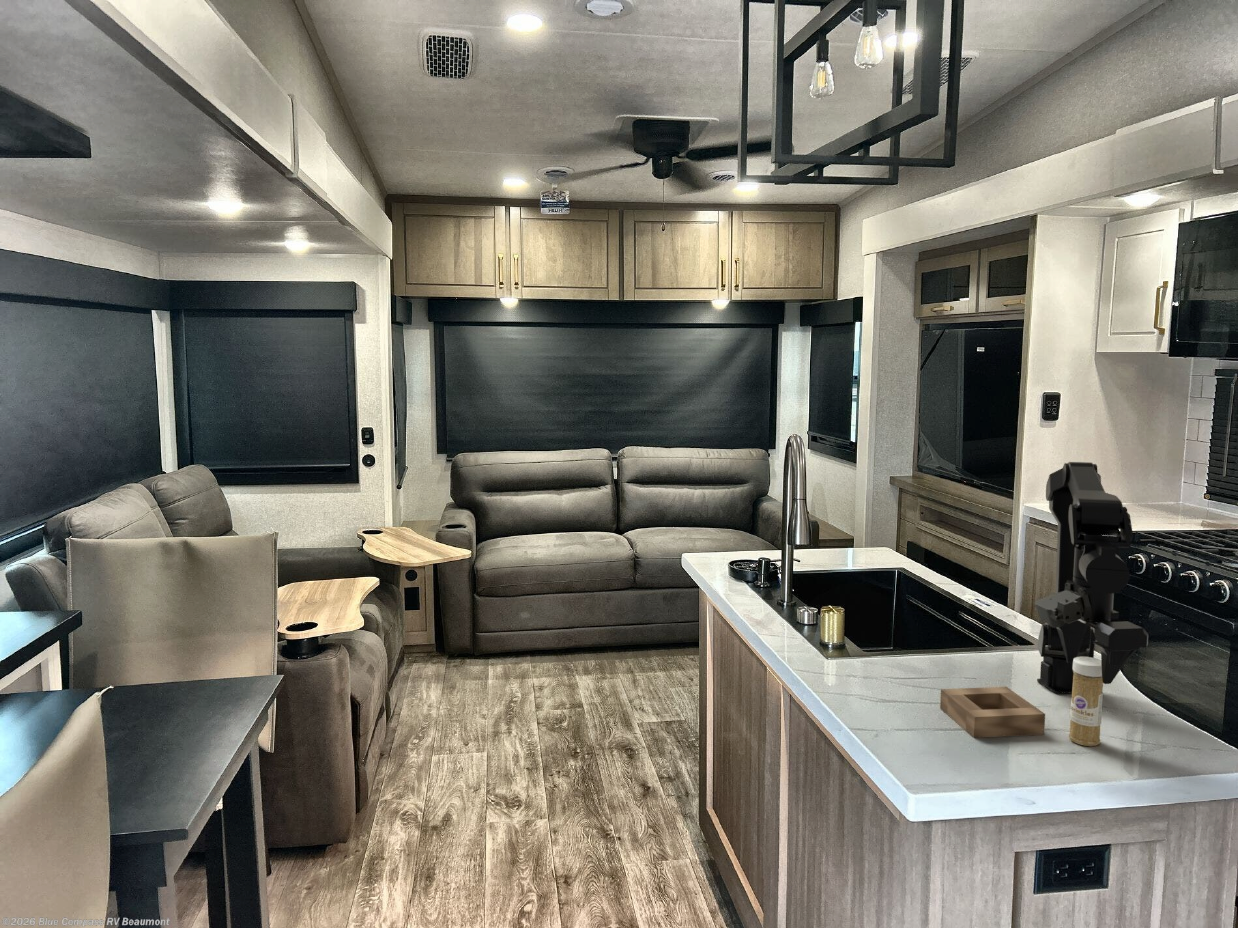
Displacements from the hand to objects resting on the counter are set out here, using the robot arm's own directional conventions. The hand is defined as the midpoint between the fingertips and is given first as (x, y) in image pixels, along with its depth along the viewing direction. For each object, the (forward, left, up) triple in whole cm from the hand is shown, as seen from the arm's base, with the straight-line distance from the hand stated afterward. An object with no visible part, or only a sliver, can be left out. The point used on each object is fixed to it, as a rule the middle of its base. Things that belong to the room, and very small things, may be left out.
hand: (1088, 672), depth 137 cm
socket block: (+11, -9, -11) cm, 18 cm away
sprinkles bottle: (0, 0, -12) cm, 12 cm away
